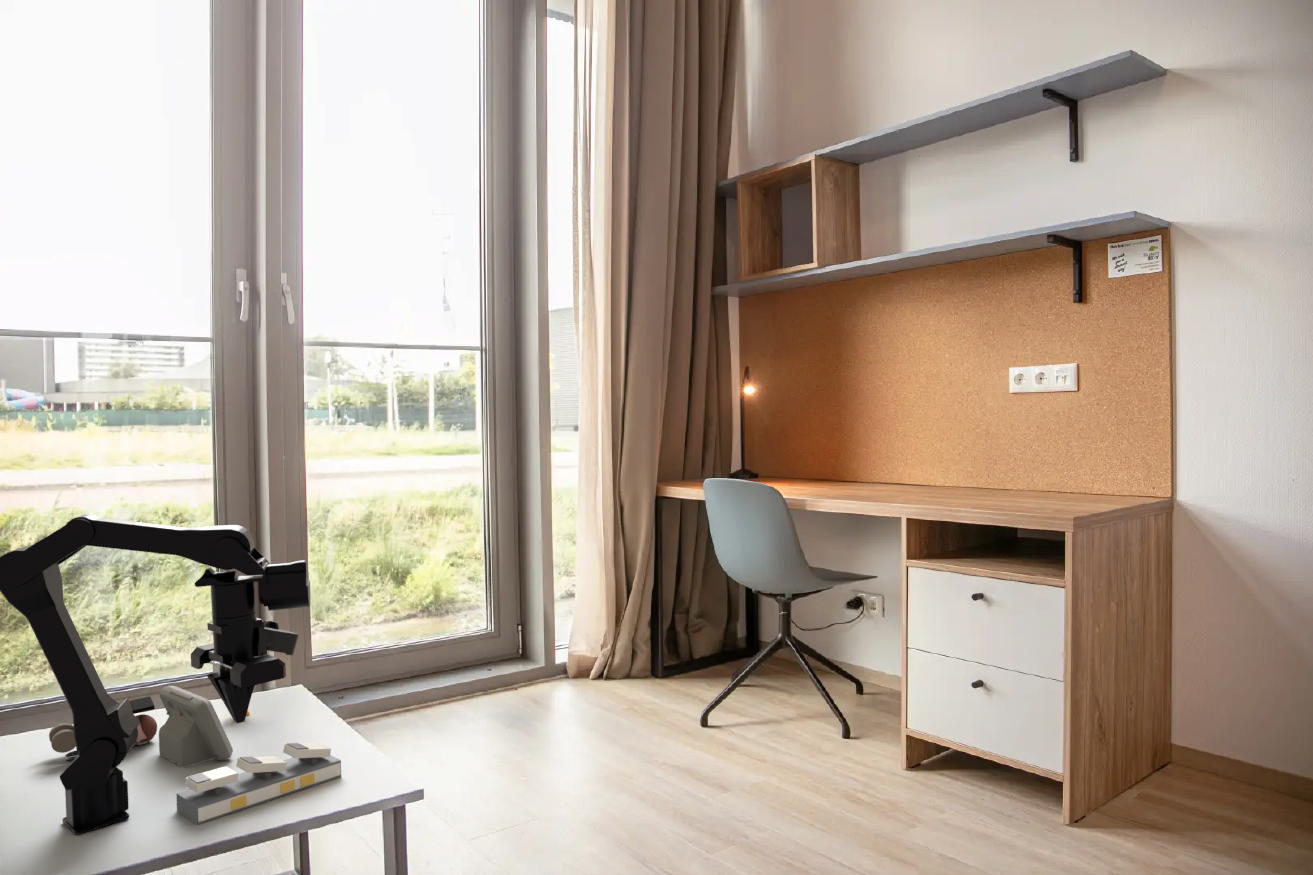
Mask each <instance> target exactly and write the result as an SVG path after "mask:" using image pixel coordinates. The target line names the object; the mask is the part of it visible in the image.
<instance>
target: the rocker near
mask: <svg viewBox="0 0 1313 875" xmlns="http://www.w3.org/2000/svg"><path fill="white" fill-rule="evenodd" d="M238 774H239V773H238V772H237V771H235V770H233V769H231V768H230V767H228V766H226V765H225V766H222V767H218V768H215V769H211V770H207V771H203V772H198V773H196V774H193V775H189V776H187V777H185V787H186V788H188V789H191V790H193V791H194V792H196V793H200V792H204V791H207V790H210V789H214V788H217V787H221V786H224V785H227V784H231V783H234V782H238Z"/></svg>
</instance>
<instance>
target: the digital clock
mask: <svg viewBox="0 0 1313 875" xmlns="http://www.w3.org/2000/svg"><path fill="white" fill-rule="evenodd" d="M159 698H160V700H161V703H162V705H163V706H164V708H165V711H166V715H168V718H167V719H166V721H165V723H164V724H163V725H162V726H161V727H160V728H159V729H158V730H159V731H158V747H159V748H158V751H159V755H160V756H161V757H162V758H165V759H166V760H168V761H170V762H172V763H174V764H176V765H177V766H179V767H181V768H185V767H190V766H192V765H197V764H199V763H203V762H207V761H209V760H213V759H214V760H218V761H225V760H229V759H230V758H231V757H232V755H233V752H234V750H233V746H232V744H231V742H230V740H229V738H228V735H227V734H226V731H225V729H224V727H223V724H222V723H221V721H220V718H219V716H218V714H217V712H216V709H215V708H214V706H213V703H212V702H211V700H209V699H208V698H206V697H204V696H200V695H198V694H196V693H193V692H191V691H188V690H185V689H184V688H181V687H179V686H176V685H166V686H164V687H163V688H162V689H161V690H160V692H159Z"/></svg>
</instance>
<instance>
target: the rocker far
mask: <svg viewBox="0 0 1313 875" xmlns="http://www.w3.org/2000/svg"><path fill="white" fill-rule="evenodd" d="M331 751H332V748H331V747H329V746H326V745H324V744H322V743H320V742H309V743H308V742H307V743H303V742H302V743H300V742H293V743H292V742H291V743H284V746H283V752H282V753H283V754H286V755H288V756H290V757H291V758H293V757H294V758H315V757H330V755H331Z"/></svg>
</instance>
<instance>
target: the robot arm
mask: <svg viewBox="0 0 1313 875" xmlns="http://www.w3.org/2000/svg"><path fill="white" fill-rule="evenodd" d="M88 546H89V547H98V548H106V549H107V548H108V549H114V550H115V549H116V550H117V549H118V550H126V551H135V552H144V553H151V554H152V553H153V554H163V555H171V556H178V557H181V558H185V559H188V560H191V561H193V562H196V563H198V564H202V565H206V566H208V567H207V568H206V569H205V570H204V572H203V574H202V575H201V577H199V578H198V579H197V580H196V581H195V582H194V587H196V588H197V587H198V588H201V587H210V599H211V600H210V601H211V617H212V619H211V620H212V621H209V622H207V623H206V624H207V631H210V632H212V638H213V640H212V641H213V643H208V644H204V645H199V646H196V647H195V648H194V650H193V651H192V652H191V653H190V665H191V668H194V669H197V670H201V669H203V668H204V664H210V665H212V672H211V673H209V674H207V675H206V678H207V679H208V680H209V681H210V682H211V684H212V686H213V687H214V689H215V691H216V692H217V694H218V696H219V697H220V699H221V700H222V702H223V704H224V706H225V707H226V709H227V711H228V713H229V714H230V716H231V718H232V720H233V721H234V723H236V724H240V723H243V722H245V721H246V718H247V717H246V714H247V711H248V712H249V706H250V703H251V699H252V696H253V692H254V689H255V687H256V686H257V685H260V684H266V683H270V682H272V681H273V682H274V681H277V680H281V679H285V678H286V677H287V671H286V670H287V669H286V668H287V667H286V663H285V662H284V661H283V660H281V659H280V658H278V657H275V656H272V655H270V654H268V652H275V653H280V654H281V653H282V654H285V655H286V656H294V654H295V649H296V646H297V643H298V640H299V636H300V634H299V633H296V632H293V631H290V630H289V631H288V630H285V629H280V627H279V623H278V622H277V621H272V620H267V619H264V620H262V618H258V617H257V608H256V606H257V605H256V604H257V603H256V585H255V583H257V582H258V601H259V604H260V605H263V607H267V610H268V611H269V612H270V611H281V610H282V611H283V610H291V609H301V608H310V607H311V598H312V597H311V579H309V571H308V563H307V560H305V559H304V560H295V561H293V562H284V563H283V562H282V563H272V564H271V562H269V561H268V559H267V558H266V557H265V556H264V555H263V554H262V553H261V552H260V550H258V549H257V548H256V546H255V539H254V537H253V534H252V533H251V532H250V530H249V529H248V528H246V527H244V526H241V525H239V524H229V525H228V524H226V525H224V524H222V525H207V526H193V527H191V526H190V527H189V526H188V527H183V526H175V525H166V524H165V525H164V524H159V523H158V524H157V523H148V522H141V521H133V520H125V519H124V520H123V519H114V518H108V517H107V518H106V517H100V516H96V515H94V514H82V515H80V516H77V517H74V518H71V519H70V520H69V521H68V522H67V523H66V524H65V525H63V526H62V527H60V528H59V529H57V530H55V531H53V532H52V533H49V535H46V536H45V537H44V538H42V539H40V540H38V542H35V543H34V544H31V545H25V546H21V547H20V548H16V549H13V550H11V551H8V552H6V553H4V554H3V555H1V556H0V593H1V595H2V596H3V597H4V598H5V600H6V601H7V602H8V604H10V606H12V607H13V608H14V609H16V610H17V611H18V612H19V613H20V614H21V615H22V616H24V617H25V618H26V620H27V621H28V623H29V625H30V627H31V629H32V631H33V634H34V635H35V637H36V639H37V642H38V644H39V646H40V648H41V650H42V652H43V654H44V657H45V658H46V660H47V662H48V665H49V667H50V669H51V670H52V672H53V674H54V678H55V679H56V680H57V683H58V685H59V687H60V689H61V691H62V693H63V696H64V698H65V699H66V703H67V704H68V705H69V708H70V710H71V713H72V723H73V724H72V725H73V727H74V739H75V743H76V747H77V749H76V750H77V751H78V754H76V756H77V757H76V758H75V759H74V760H72V761H70V763H69V765H68V766H67V767H66V768H65V769H64V770H63V771H62V773H61V774H60V775H59V780H60V781H61V784H62V786H63V787H64V794H65V817H63V818H61V819H62V820H61V821H62V823H63V825H65V827H67V828H68V829H69V830H70V831H71V832H72V833H74V834H75V835H79V834H80V835H81V834H83V833H86V832H90V831H93V830H96V829H99V828H102V827H106V826H109V825H111V824H115V823H119V822H122V821H125V820H128V819H129V818H130V814H129V813H128V812H127V811H128V810H129V807H130V806H129V787H128V786H129V785H128V783H129V782H128V780H126V779H125V778H124V771H123V770H122V769H120V768H118V766H120V764H121V763H122V762H123V761H124V760H125V759H126V757H127V756H128V754H129V753H130V751H131V750H132V749H133V747H134V746H135V742H136V740H137V737H138V729H137V726H138V725H139V723H140V720H138V719H137V718H136V717H135V716H136V714H133V712H132V709H131V705H130V702H129V701H130V700H129V698H128V697H126V698H124V699H123V700H120V701H119V702H117V701H116V700H115V699H114V698H113V697H111V695H109V693H108V692H107V691H106V688H105V686H104V685H103V682H102V680H101V678H100V676H99V674H98V672H97V670H96V668H95V666H94V664H93V662H92V659H91V658H90V654H89V653H88V651H87V649H86V646H85V645H84V642H83V640H82V638H81V637H80V634H79V631H78V630H77V628H76V625H75V624H74V621H73V620H72V619H73V618H71V614H70V613H69V611H68V609H67V607H66V604H65V601H64V589H63V588H64V584H63V578H62V573H61V569H60V565H61V564H62V563H64V562H66V561H67V560H69V559H70V558H71V557H73V556H74V555H76V554H78V553H79V552H80V551H81V550H83V549H84V548H86V547H88ZM212 567H213V568H217V569H220V570H224V571H216V570H214V569H213V568H212ZM234 569H235V570H234ZM239 572H240V573H242V574H244V575H239ZM76 747H75V748H76Z"/></svg>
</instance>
